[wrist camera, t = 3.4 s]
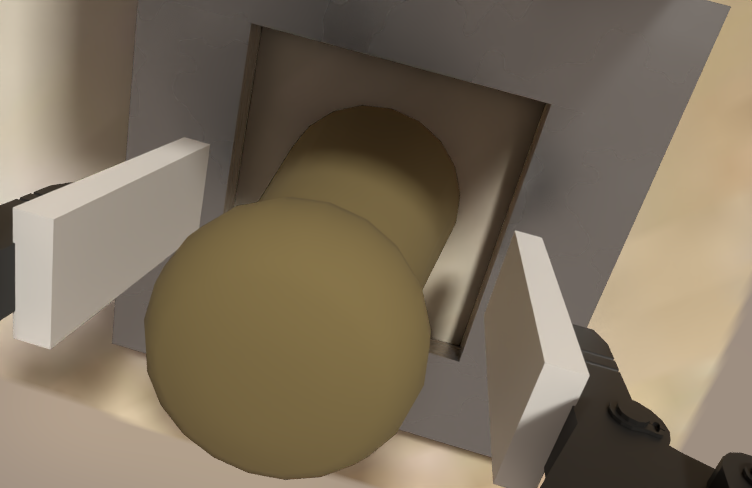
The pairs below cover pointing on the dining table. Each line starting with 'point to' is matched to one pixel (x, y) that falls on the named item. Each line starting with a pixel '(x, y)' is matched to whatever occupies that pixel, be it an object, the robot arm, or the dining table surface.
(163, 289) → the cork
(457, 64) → the low frame
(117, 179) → the robot arm
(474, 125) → the dining table surface
